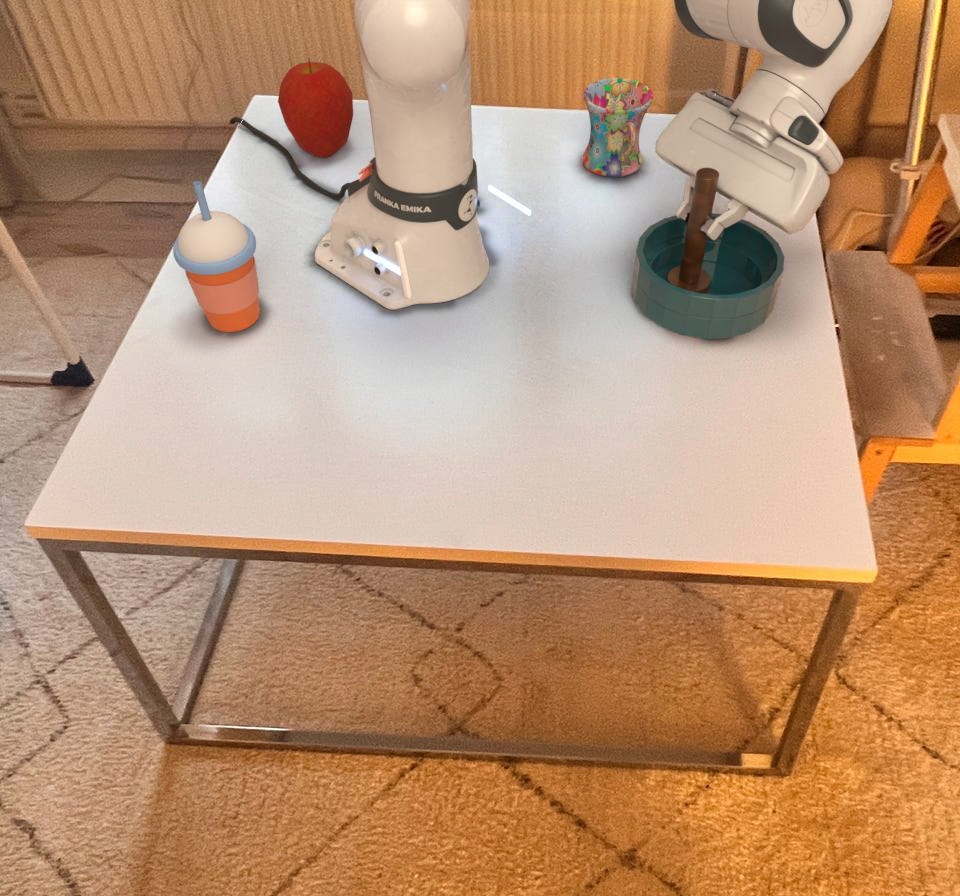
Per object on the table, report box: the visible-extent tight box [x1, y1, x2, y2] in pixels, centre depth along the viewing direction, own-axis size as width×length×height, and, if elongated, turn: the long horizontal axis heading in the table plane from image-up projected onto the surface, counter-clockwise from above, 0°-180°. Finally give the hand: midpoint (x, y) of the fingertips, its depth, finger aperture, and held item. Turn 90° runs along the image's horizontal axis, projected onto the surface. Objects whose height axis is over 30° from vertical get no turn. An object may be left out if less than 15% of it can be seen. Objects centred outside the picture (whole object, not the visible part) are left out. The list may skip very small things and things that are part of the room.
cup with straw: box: [172, 180, 261, 333], centre depth 104 cm, size 9×9×18 cm
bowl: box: [631, 212, 786, 340], centre depth 109 cm, size 17×17×6 cm
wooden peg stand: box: [667, 168, 719, 294], centre depth 104 cm, size 5×5×15 cm
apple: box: [277, 58, 354, 159], centre depth 131 cm, size 10×10×14 cm
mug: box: [581, 77, 654, 178], centre depth 127 cm, size 12×9×11 cm
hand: (694, 228), depth 103 cm, fingers closed on wooden peg stand, 2 cm apart
